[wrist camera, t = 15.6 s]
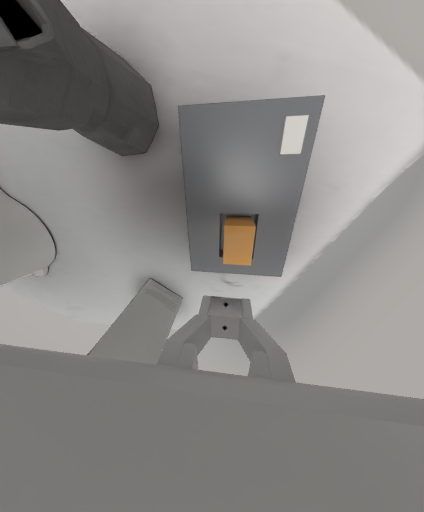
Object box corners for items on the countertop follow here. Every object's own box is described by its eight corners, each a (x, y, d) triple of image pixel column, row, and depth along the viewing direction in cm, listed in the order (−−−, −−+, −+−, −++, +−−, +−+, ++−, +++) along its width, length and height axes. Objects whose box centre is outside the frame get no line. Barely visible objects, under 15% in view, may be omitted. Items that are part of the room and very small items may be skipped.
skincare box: (138, 294, 33) (68, 377, 19) (151, 275, 30) (79, 357, 16) (170, 314, 34) (127, 404, 20) (185, 298, 31) (147, 390, 18)
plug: (225, 246, 24) (223, 263, 19) (226, 215, 22) (224, 225, 17) (247, 247, 24) (250, 265, 19) (250, 215, 22) (255, 226, 17)
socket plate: (195, 261, 27) (190, 272, 24) (186, 116, 18) (175, 103, 15) (276, 266, 25) (282, 279, 22) (310, 109, 16) (328, 91, 13)
